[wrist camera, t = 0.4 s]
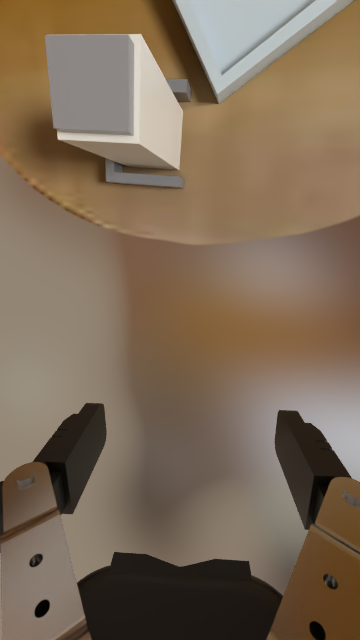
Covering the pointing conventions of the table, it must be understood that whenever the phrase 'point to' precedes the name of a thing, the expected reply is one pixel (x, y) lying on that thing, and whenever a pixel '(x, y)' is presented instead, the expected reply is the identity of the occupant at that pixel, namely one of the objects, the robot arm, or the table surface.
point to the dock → (117, 176)
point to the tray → (248, 34)
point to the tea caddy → (113, 99)
